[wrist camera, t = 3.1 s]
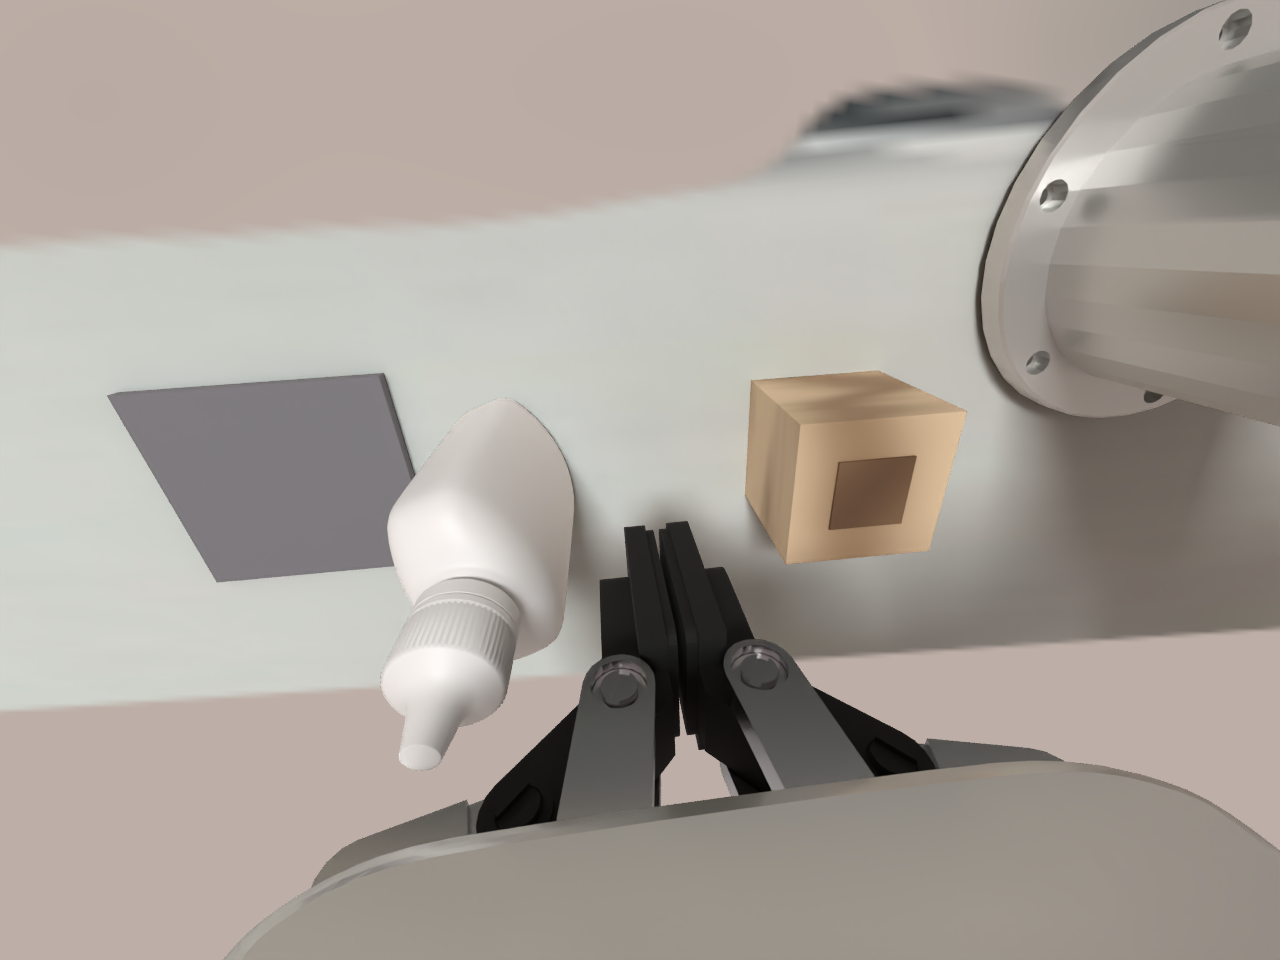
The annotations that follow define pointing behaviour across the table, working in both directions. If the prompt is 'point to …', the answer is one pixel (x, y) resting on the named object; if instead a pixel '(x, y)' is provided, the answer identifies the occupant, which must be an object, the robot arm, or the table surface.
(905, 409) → the oak cube
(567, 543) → the eye dropper bottle
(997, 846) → the robot arm
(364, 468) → the mat
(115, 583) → the table surface
